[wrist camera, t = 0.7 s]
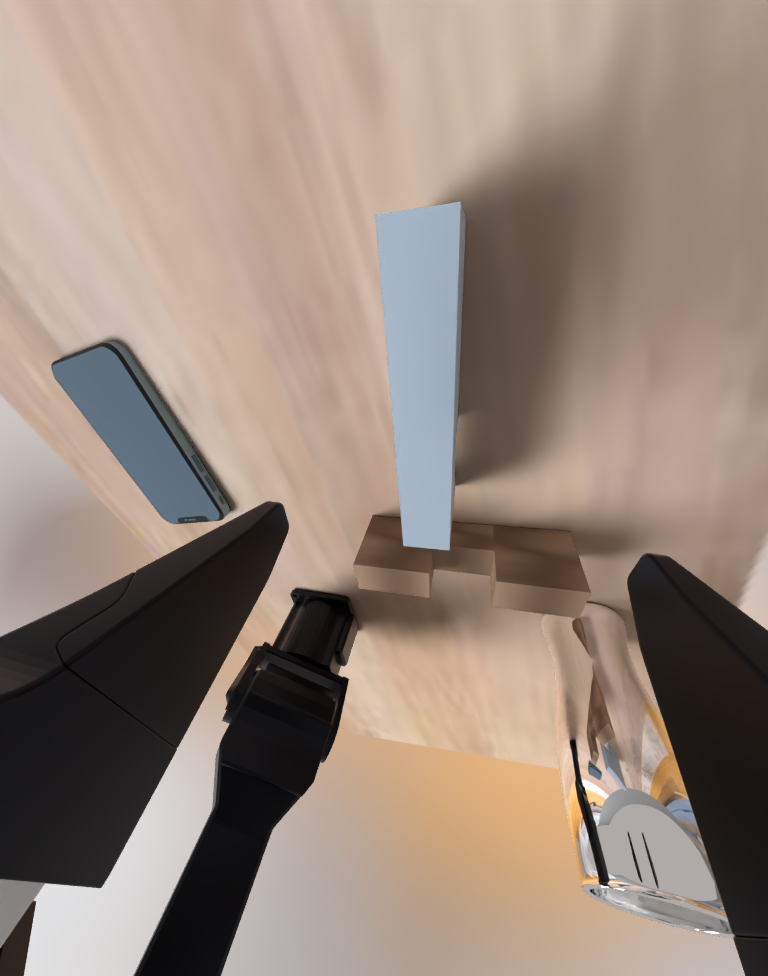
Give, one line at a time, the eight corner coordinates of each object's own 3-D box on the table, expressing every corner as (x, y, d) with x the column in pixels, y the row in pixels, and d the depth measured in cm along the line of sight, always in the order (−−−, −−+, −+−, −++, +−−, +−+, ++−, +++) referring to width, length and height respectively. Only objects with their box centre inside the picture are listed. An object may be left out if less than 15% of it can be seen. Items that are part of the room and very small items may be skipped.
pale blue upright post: (418, 484, 22) (403, 545, 18) (408, 227, 14) (375, 214, 10) (455, 486, 22) (449, 550, 17) (465, 219, 14) (460, 201, 9)
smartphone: (108, 338, 20) (227, 521, 28) (131, 334, 22) (238, 510, 29) (40, 365, 23) (165, 526, 30) (65, 359, 24) (178, 515, 32)
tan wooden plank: (376, 538, 26) (358, 588, 23) (372, 515, 25) (353, 564, 21) (561, 556, 23) (579, 618, 19) (569, 531, 22) (590, 592, 18)
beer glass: (542, 592, 26) (599, 878, 14) (643, 604, 24) (804, 942, 12) (529, 639, 30) (563, 892, 18) (614, 652, 28) (715, 942, 16)
